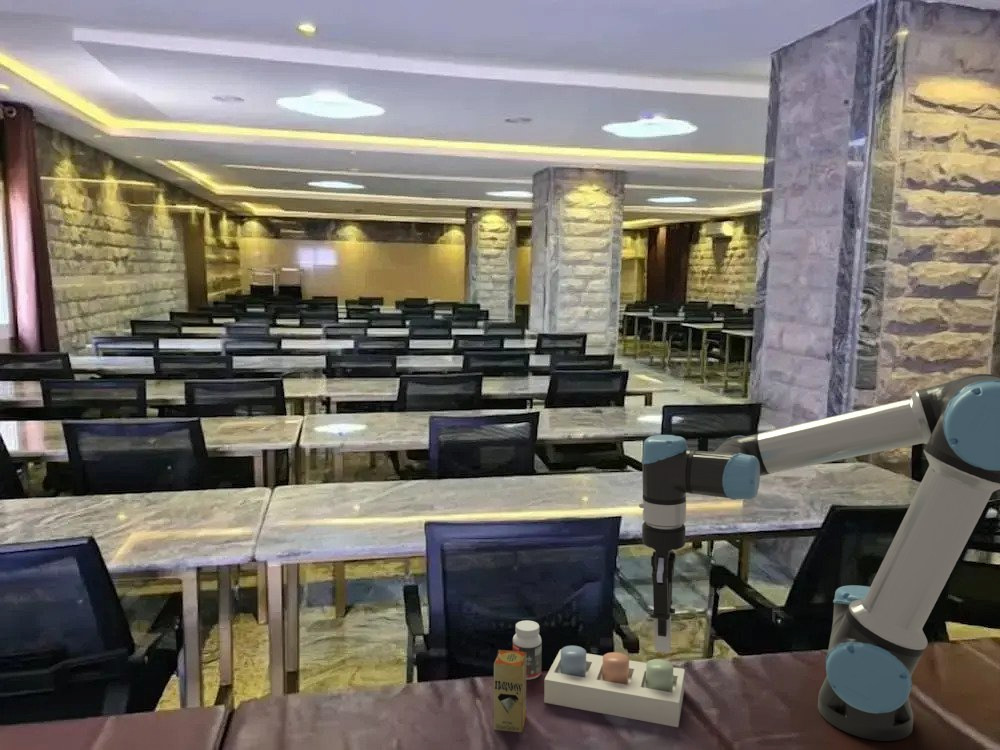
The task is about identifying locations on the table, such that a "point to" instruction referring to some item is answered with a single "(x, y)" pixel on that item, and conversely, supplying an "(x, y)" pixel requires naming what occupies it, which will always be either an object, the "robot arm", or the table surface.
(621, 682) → the button terracotta
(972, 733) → the table surface
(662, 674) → the button sage
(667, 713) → the panel
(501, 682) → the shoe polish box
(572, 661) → the button slateblue
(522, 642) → the pill bottle
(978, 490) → the robot arm
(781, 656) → the table surface
